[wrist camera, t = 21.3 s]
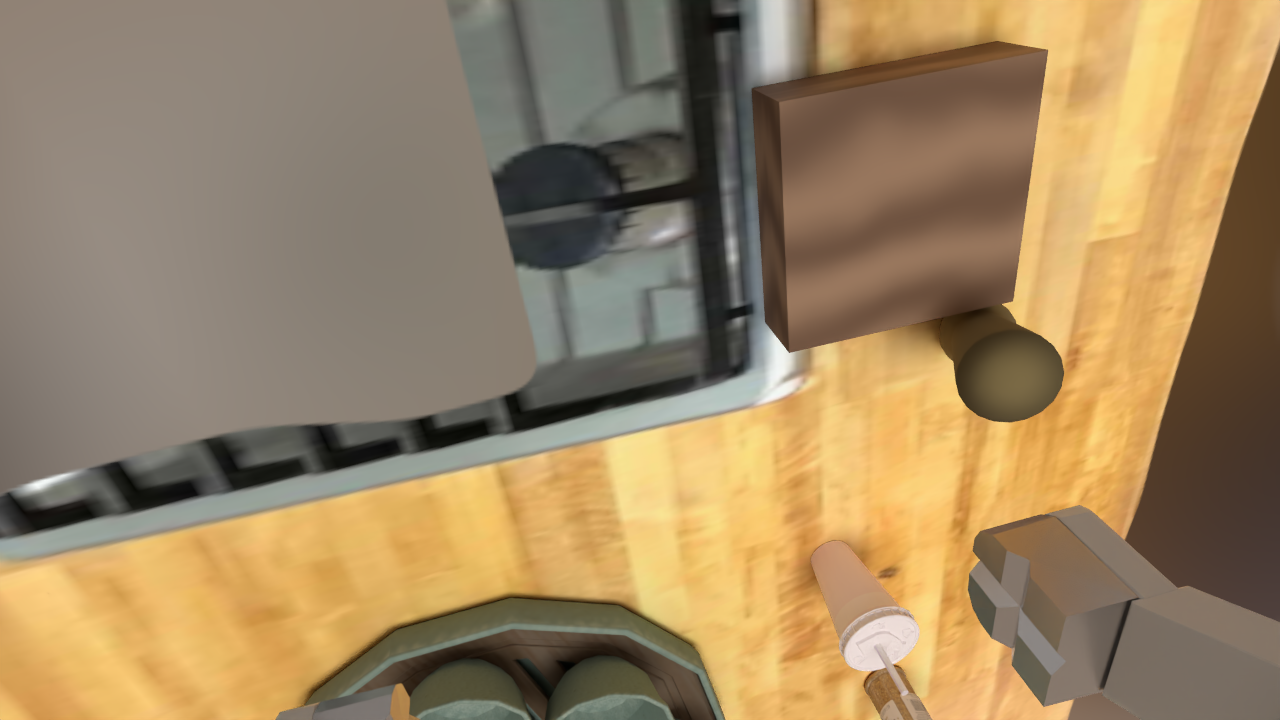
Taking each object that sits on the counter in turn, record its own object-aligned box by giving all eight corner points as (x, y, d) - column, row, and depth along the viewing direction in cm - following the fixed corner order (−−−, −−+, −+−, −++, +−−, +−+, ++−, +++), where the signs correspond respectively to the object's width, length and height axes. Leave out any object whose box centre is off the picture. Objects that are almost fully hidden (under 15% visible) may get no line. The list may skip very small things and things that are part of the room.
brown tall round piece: (1064, 419, 44) (1017, 361, 54) (1063, 324, 43) (1016, 282, 53) (957, 425, 46) (931, 368, 56) (953, 334, 44) (927, 292, 54)
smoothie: (813, 525, 63) (893, 661, 51) (875, 532, 65) (967, 664, 53) (785, 580, 65) (856, 721, 53) (846, 584, 67) (927, 722, 55)
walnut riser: (749, 87, 44) (779, 102, 39) (994, 40, 45) (1048, 50, 41) (763, 319, 52) (789, 352, 48) (969, 273, 54) (1013, 301, 49)
